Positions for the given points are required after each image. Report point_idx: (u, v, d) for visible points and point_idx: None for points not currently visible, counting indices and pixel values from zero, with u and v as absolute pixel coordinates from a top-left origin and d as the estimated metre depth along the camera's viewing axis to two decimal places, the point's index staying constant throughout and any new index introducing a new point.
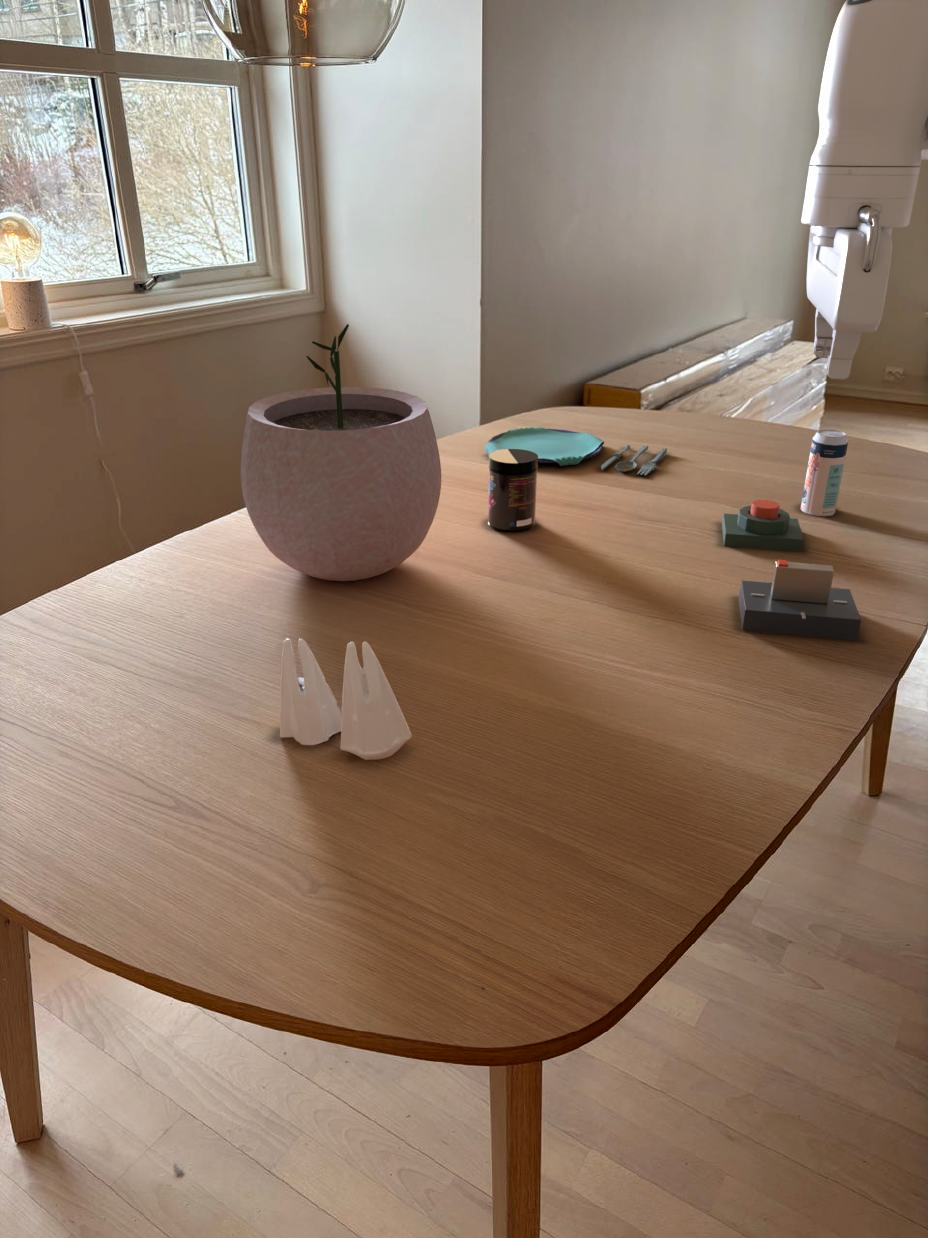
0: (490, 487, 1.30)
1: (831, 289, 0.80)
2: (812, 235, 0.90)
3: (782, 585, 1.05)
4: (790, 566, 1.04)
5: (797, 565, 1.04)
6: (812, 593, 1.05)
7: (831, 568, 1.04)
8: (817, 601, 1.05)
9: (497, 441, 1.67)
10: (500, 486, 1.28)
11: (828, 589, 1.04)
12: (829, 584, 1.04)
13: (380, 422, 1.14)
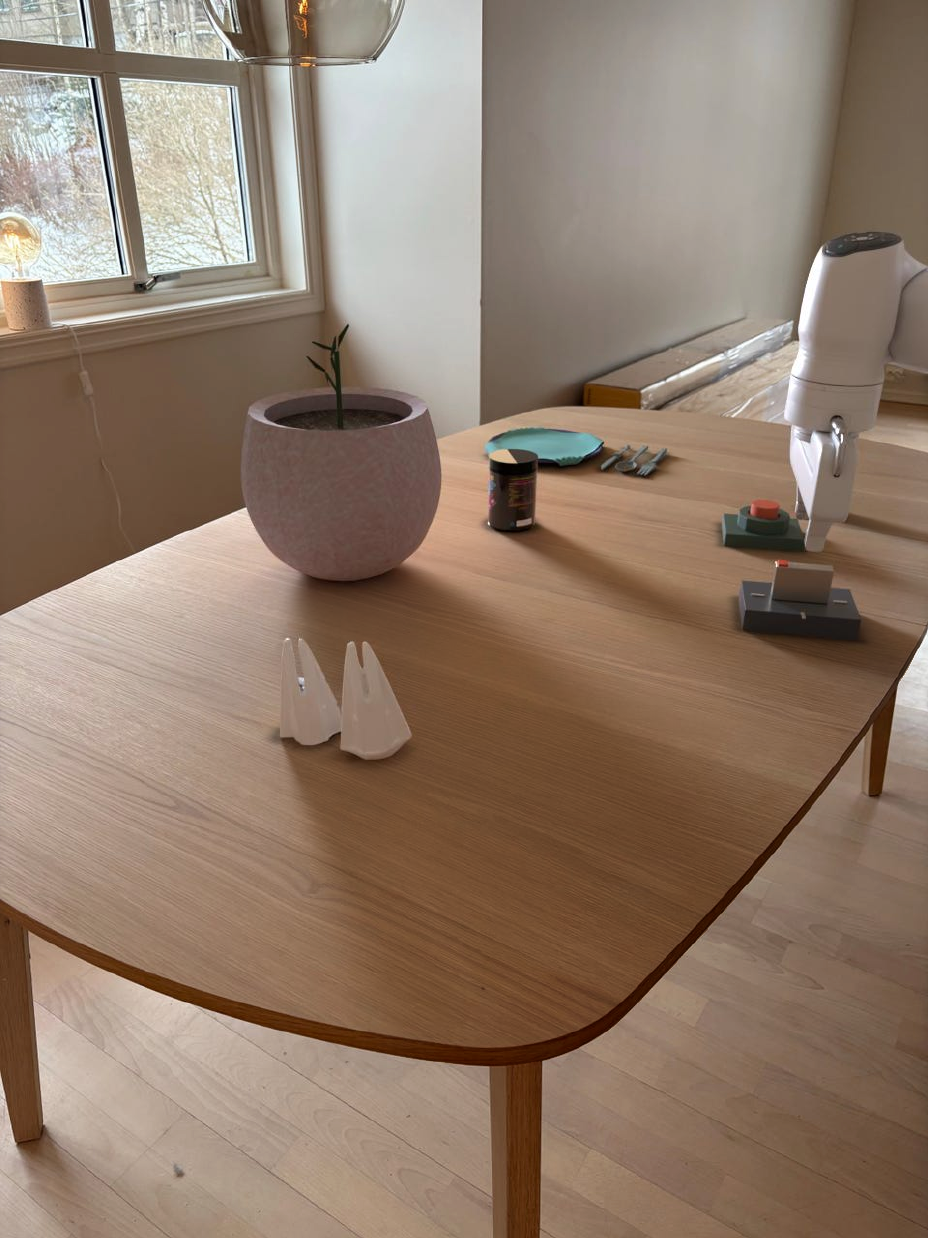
0: (490, 487, 1.30)
1: (808, 481, 0.95)
2: None
3: (782, 585, 1.05)
4: (790, 566, 1.04)
5: (797, 565, 1.04)
6: (812, 593, 1.05)
7: (831, 568, 1.04)
8: (817, 601, 1.05)
9: (497, 441, 1.67)
10: (500, 486, 1.28)
11: (828, 589, 1.04)
12: (829, 584, 1.04)
13: (381, 423, 1.14)
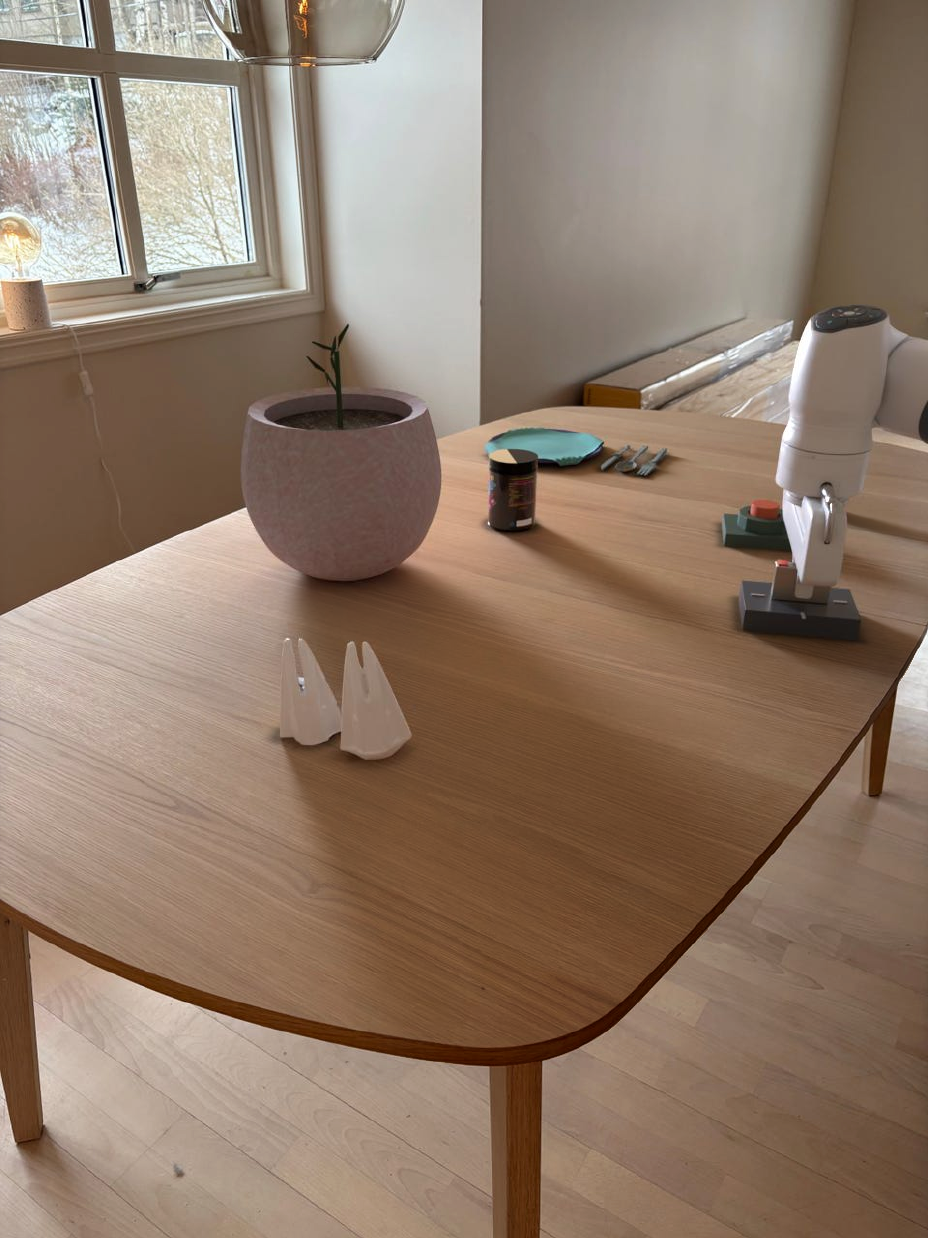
0: (490, 487, 1.30)
1: (799, 544, 0.98)
2: None
3: (782, 585, 1.05)
4: (790, 566, 1.04)
5: None
6: (812, 593, 1.05)
7: None
8: (817, 602, 1.05)
9: (497, 441, 1.67)
10: (500, 486, 1.28)
11: (828, 589, 1.04)
12: None
13: (381, 423, 1.14)
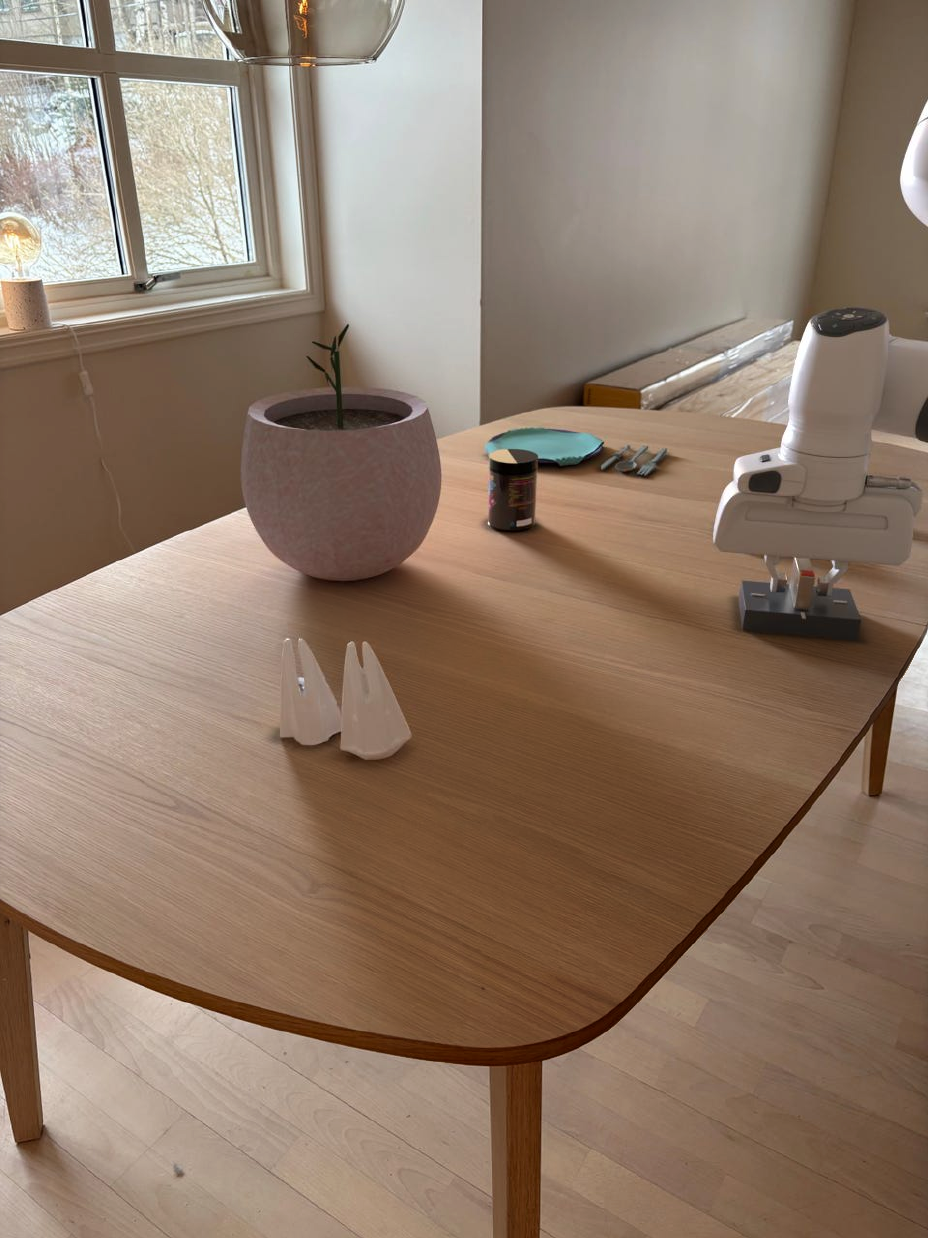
0: (490, 487, 1.30)
1: (867, 539, 1.00)
2: (743, 503, 1.00)
3: None
4: (810, 571, 1.03)
5: (805, 568, 1.04)
6: None
7: None
8: None
9: (497, 441, 1.67)
10: (500, 486, 1.28)
11: None
12: None
13: (381, 423, 1.14)
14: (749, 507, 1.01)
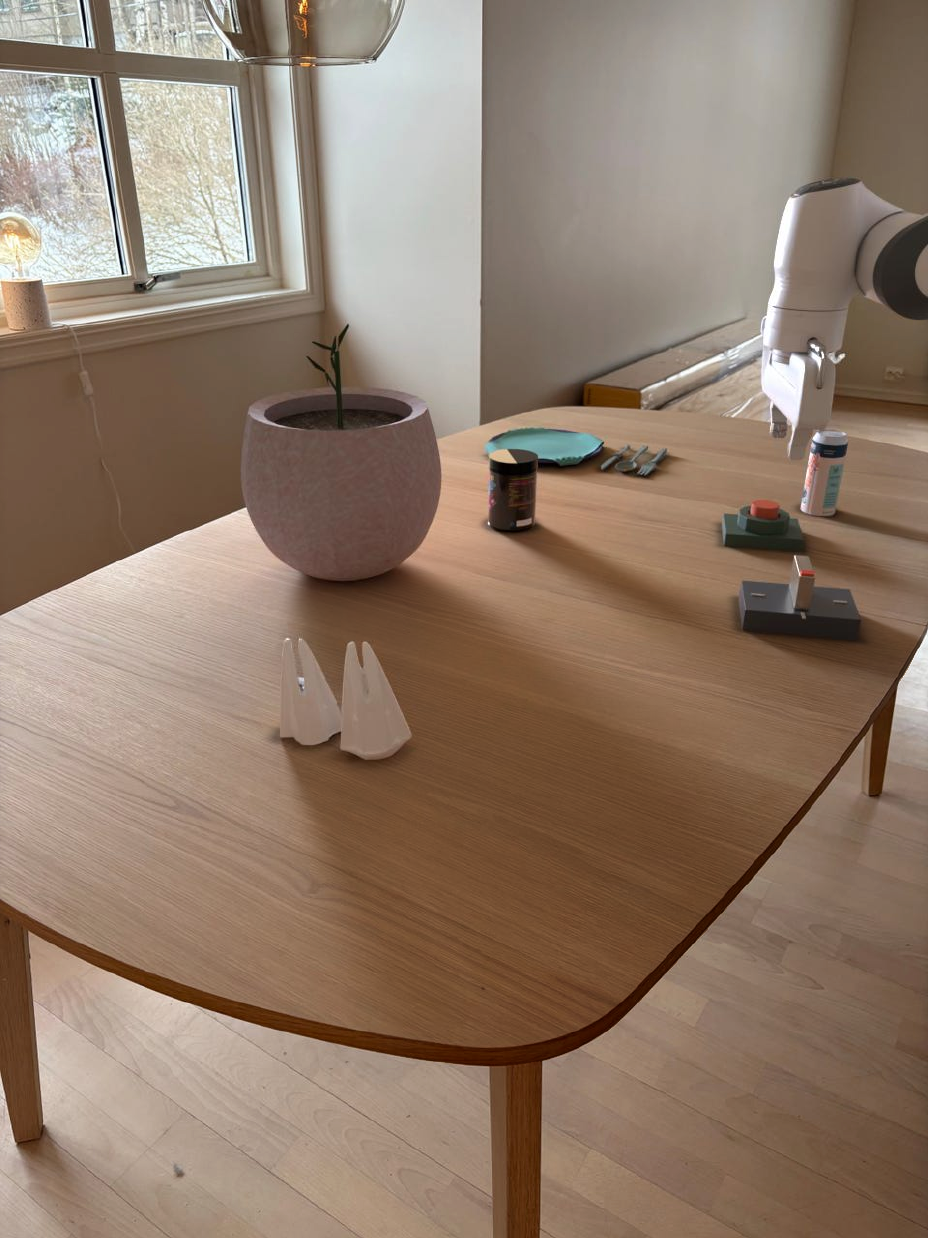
0: (490, 487, 1.30)
1: (790, 396, 1.09)
2: (766, 346, 1.19)
3: None
4: (810, 571, 1.03)
5: (805, 568, 1.04)
6: None
7: (803, 556, 1.07)
8: None
9: (497, 441, 1.67)
10: (500, 486, 1.28)
11: None
12: None
13: (381, 423, 1.14)
14: (771, 352, 1.19)
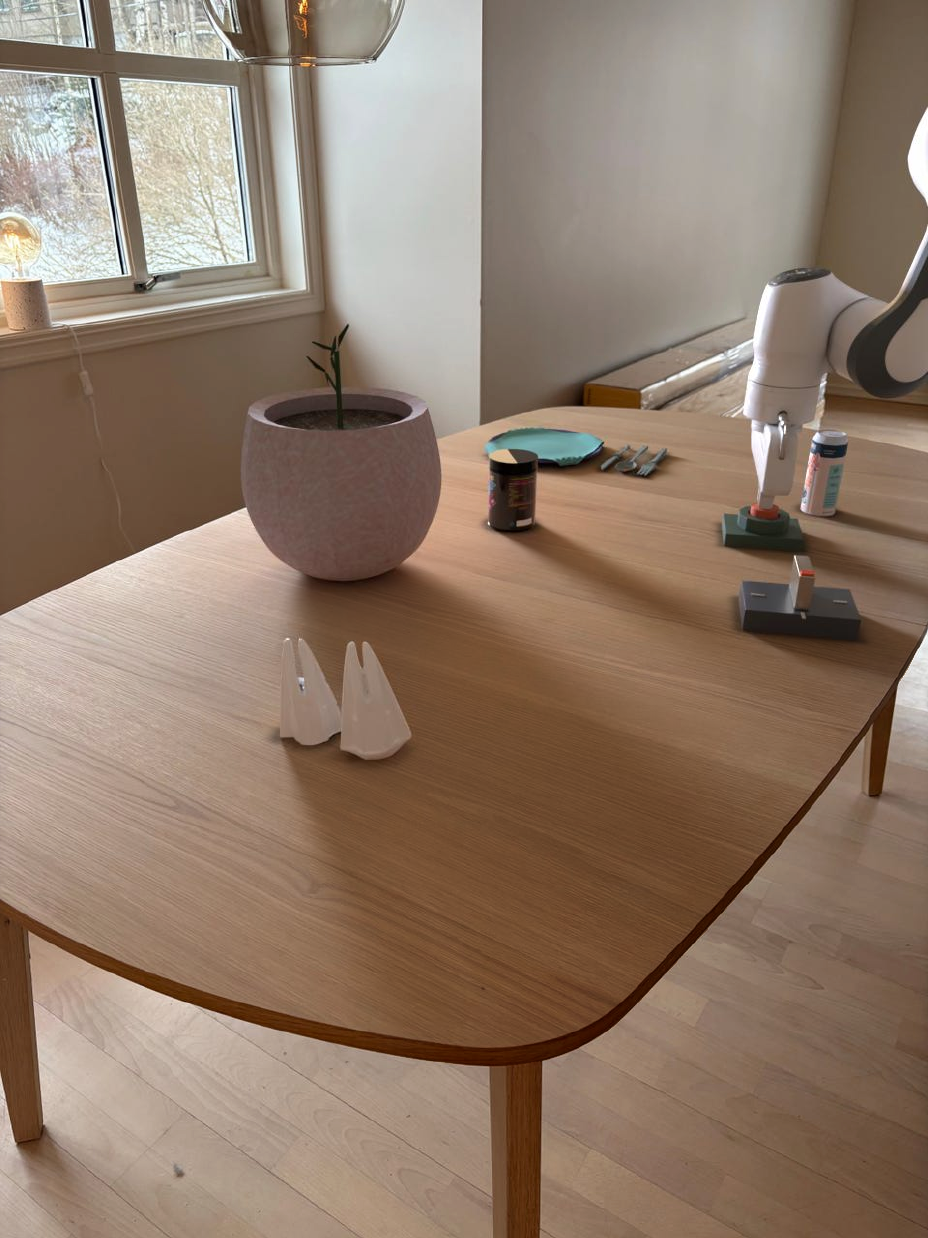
0: (490, 487, 1.30)
1: (761, 463, 1.20)
2: None
3: None
4: (810, 571, 1.03)
5: (805, 568, 1.04)
6: None
7: (803, 556, 1.07)
8: None
9: (497, 441, 1.67)
10: (500, 486, 1.28)
11: None
12: None
13: (381, 423, 1.14)
14: None
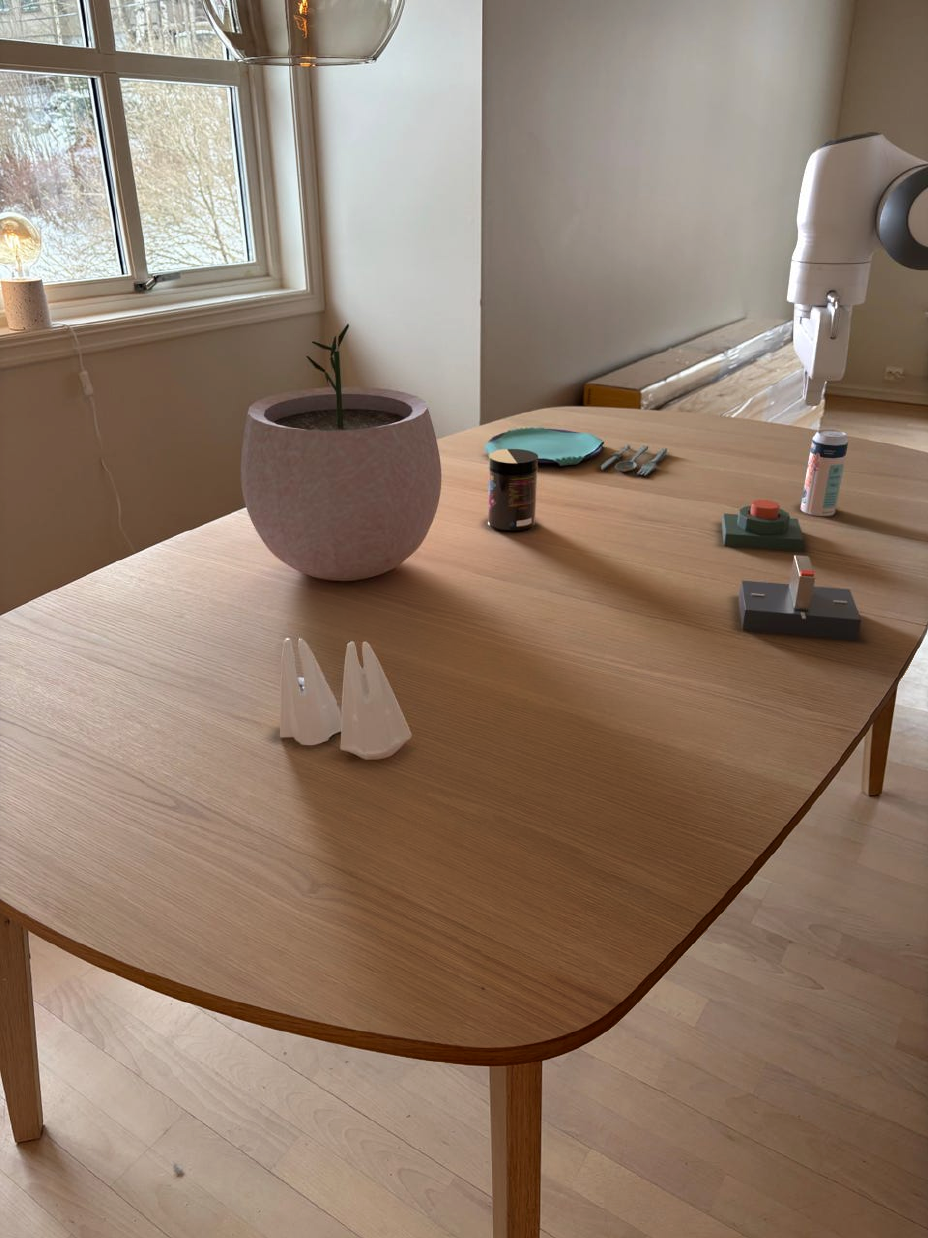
0: (490, 487, 1.30)
1: (809, 349, 1.11)
2: (796, 305, 1.21)
3: None
4: (810, 571, 1.03)
5: (805, 568, 1.04)
6: None
7: (803, 556, 1.07)
8: None
9: (497, 441, 1.67)
10: (500, 486, 1.28)
11: None
12: None
13: (381, 423, 1.14)
14: None
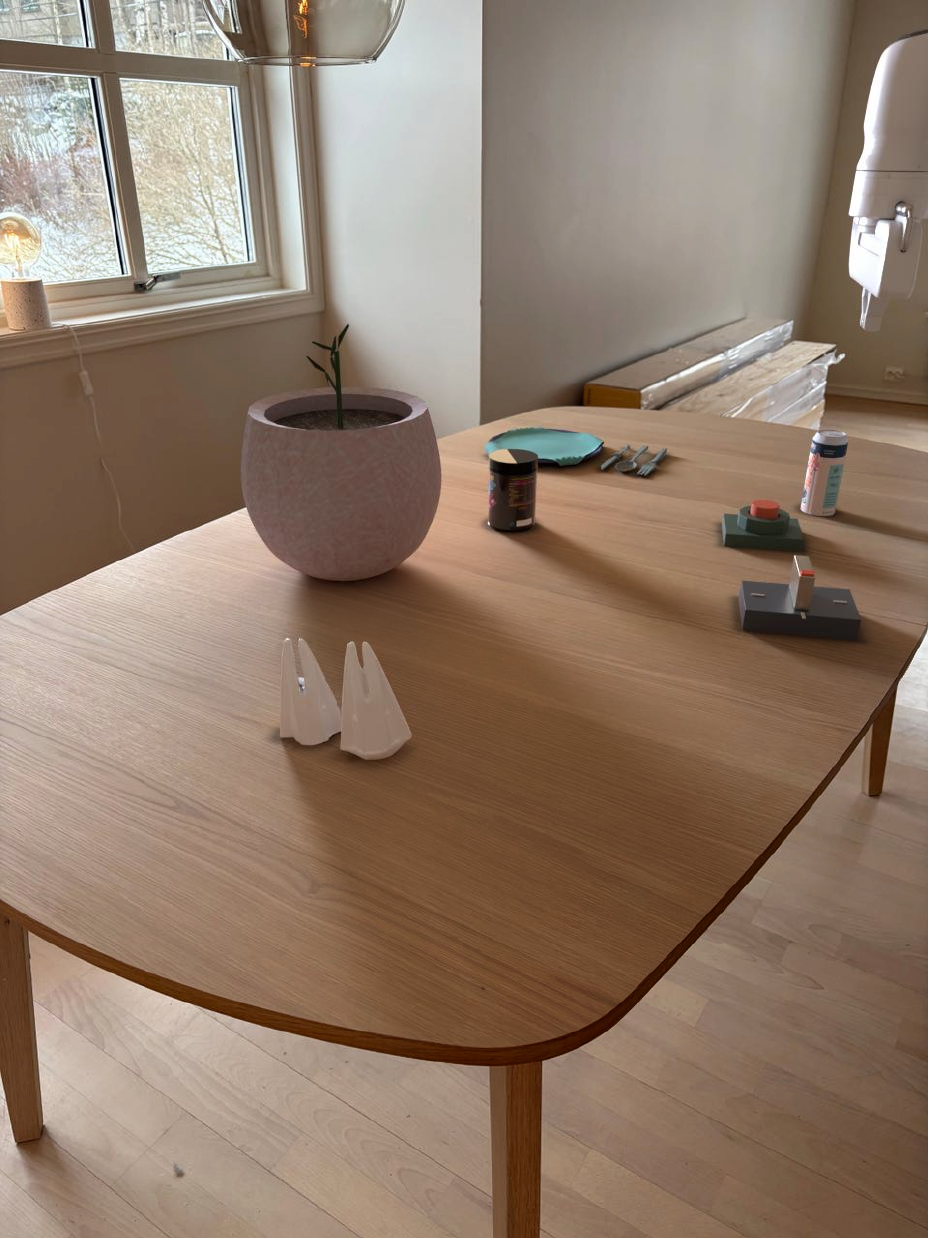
0: (490, 487, 1.30)
1: (873, 266, 1.03)
2: (855, 225, 1.13)
3: None
4: (810, 571, 1.03)
5: (805, 568, 1.04)
6: None
7: (803, 556, 1.07)
8: None
9: (497, 441, 1.67)
10: (500, 486, 1.28)
11: None
12: None
13: (381, 423, 1.14)
14: (860, 231, 1.13)
